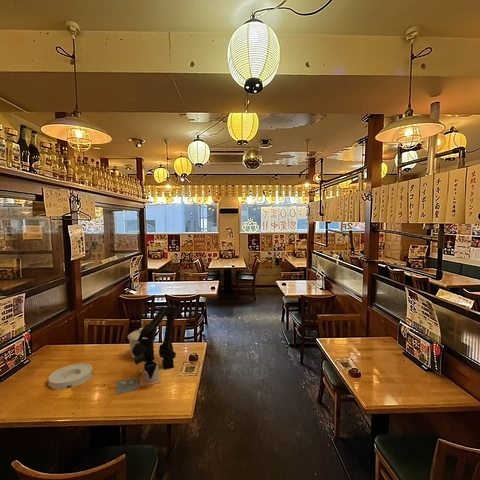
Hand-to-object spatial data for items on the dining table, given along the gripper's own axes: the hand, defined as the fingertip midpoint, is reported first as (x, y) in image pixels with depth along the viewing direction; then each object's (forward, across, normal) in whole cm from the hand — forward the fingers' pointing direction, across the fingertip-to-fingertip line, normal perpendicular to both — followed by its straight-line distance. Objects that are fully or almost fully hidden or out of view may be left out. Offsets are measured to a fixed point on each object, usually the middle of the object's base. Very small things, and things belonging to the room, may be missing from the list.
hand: (149, 374), depth 169 cm
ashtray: (+4, -23, -44) cm, 50 cm away
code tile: (+4, 0, -12) cm, 13 cm away
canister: (+4, -34, -2) cm, 34 cm away
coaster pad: (+4, 0, 0) cm, 4 cm away
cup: (+3, -1, 0) cm, 3 cm away
